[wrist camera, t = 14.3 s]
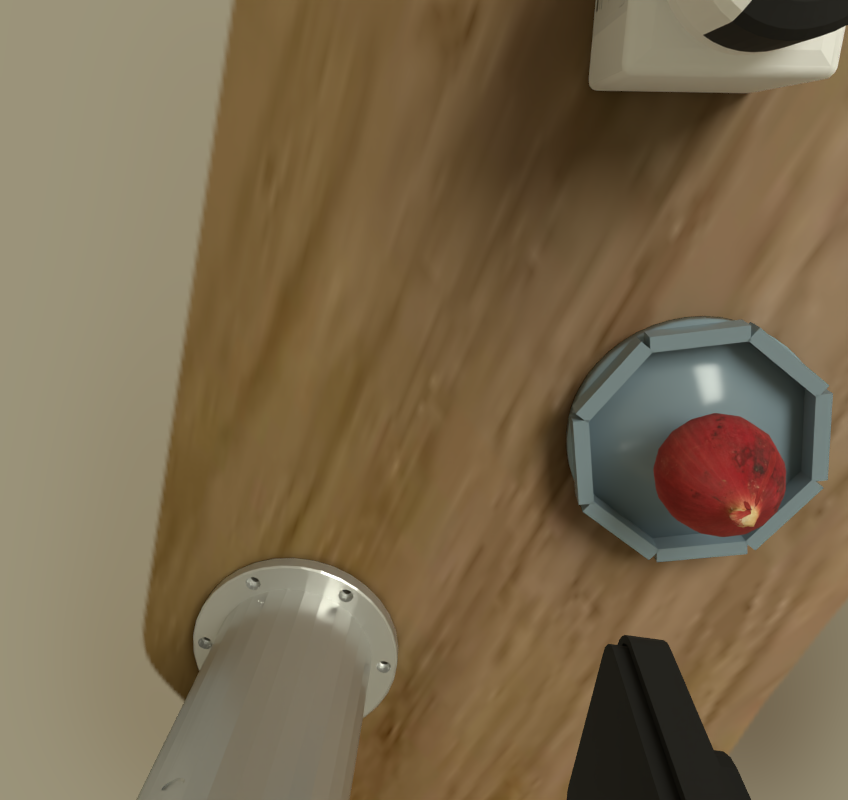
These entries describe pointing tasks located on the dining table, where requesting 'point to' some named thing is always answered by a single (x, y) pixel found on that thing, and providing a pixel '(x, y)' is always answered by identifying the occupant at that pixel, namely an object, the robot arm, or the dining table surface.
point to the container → (714, 44)
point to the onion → (720, 475)
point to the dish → (677, 404)
